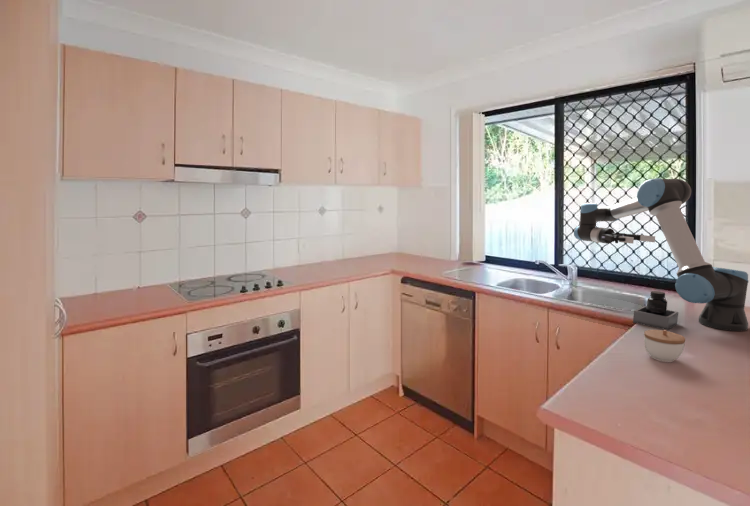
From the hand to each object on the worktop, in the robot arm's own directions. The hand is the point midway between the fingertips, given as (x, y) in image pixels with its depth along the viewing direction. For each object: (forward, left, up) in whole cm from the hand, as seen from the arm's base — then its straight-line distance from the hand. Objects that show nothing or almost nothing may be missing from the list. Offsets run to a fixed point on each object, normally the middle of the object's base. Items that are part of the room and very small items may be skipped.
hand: (643, 239), depth 183 cm
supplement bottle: (-12, +18, -31) cm, 38 cm away
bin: (-12, +18, -32) cm, 39 cm away
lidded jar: (-26, +58, -32) cm, 72 cm away
